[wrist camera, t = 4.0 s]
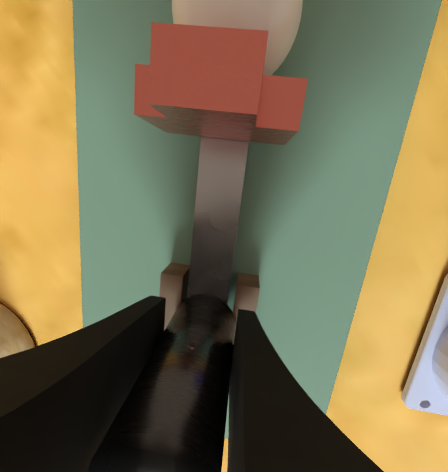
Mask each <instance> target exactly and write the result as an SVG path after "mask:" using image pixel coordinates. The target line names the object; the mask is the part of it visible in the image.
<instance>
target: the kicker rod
mask: <svg viewBox="0 0 448 472" xmlns="http://www.w3.org/2000/svg"><path fill="white" fill-rule="evenodd" d="M268 32H269V31H265V30H251V29H237V28H224V27H210V26H196V25H182V24H168V23H154V22H152V23H151V51H150V65H144V64H135V92H134V115H136V116H138V117H140V118H141V119H143V120H145V121H147V122H149V123H150V124H152V125H154V126H156V127H157V128H159V129H161V130H163V131H164V132H166V133H174V134H183V135H192V136H201V143H200V155H199V167H198V178H197V190H196V201H195V213H194V224H193V236H192V247H191V259H190V270H189V282H188V293H187V298H186V299H185V300H183V301H182V302H181V303H180V305H179V306H178V308H177V309H176V311H175V313H174V315H173V316H172V318H171V320H170V322H169V323H168V325H167V327H166V329H165V331H164V332H163V334H162V336H161V338H160V339H159V341H158V343H157V345H156V346H155V348H154V350H153V352H152V353H151V355H150V357H149V359H148V361H147V362H146V364H145V366H144V368H143V369H142V371H141V373H140V375H139V376H138V378H137V380H136V382H135V383H134V385H133V387H132V389H131V391H130V392H129V394H128V396H127V398H126V399H125V401H124V403H123V405H122V406H121V408H120V410H119V412H118V413H117V415H116V417H115V419H114V421H113V422H112V424H111V426H110V428H109V429H108V431H107V433H106V435H105V436H104V438H103V440H102V442H101V443H100V445H99V447H98V449H97V451H96V452H95V454H94V456H93V458H92V460H91V462H90V464H89V468H88V472H221V467H222V457H223V447H224V437H225V427H226V417H227V407H228V396H229V386H230V376H231V364H232V354H233V344H234V336H235V325H236V323H235V317H234V314H233V312H232V310H231V309H230V307H229V306H228V299H229V291H230V284H231V276H232V269H233V261H234V254H235V246H236V239H237V231H238V224H239V216H240V209H241V201H242V194H243V186H244V179H245V171H246V164H247V156H248V149H249V142H257V143H266V144H275V145H285V144H286V143H287V142H288V141H289V140H290V139H291V138H292V137H293V136H294V135H295V134H296V133H297V132H298V131H299V127H300V121H301V116H302V110H303V104H304V99H305V93H306V88H307V82H308V79H306V78H295V77H283V76H271V75H263V71H264V64H265V56H266V48H267V40H268Z"/></svg>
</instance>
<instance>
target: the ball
mask: <svg viewBox="0 0 448 472" xmlns="http://www.w3.org/2000/svg"><path fill="white" fill-rule="evenodd" d="M302 5H303V0H172V16H173V23H174V24H182V25H196V26H210V27H224V28H237V29H251V30H265V31H269V32H268V40H267V48H266V56H265V64H264V71H263V75H272V74H273V73H274V72H275V71H276V70H277V69H278V68H279V66H280V65H281V64H282V62H283V61H284V60H285V58H286V56H287V55H288V53H289V51H290V49H291V47H292V45H293V43H294V40H295V38H296V35H297V32H298V28H299V24H300V20H301V14H302Z"/></svg>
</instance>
